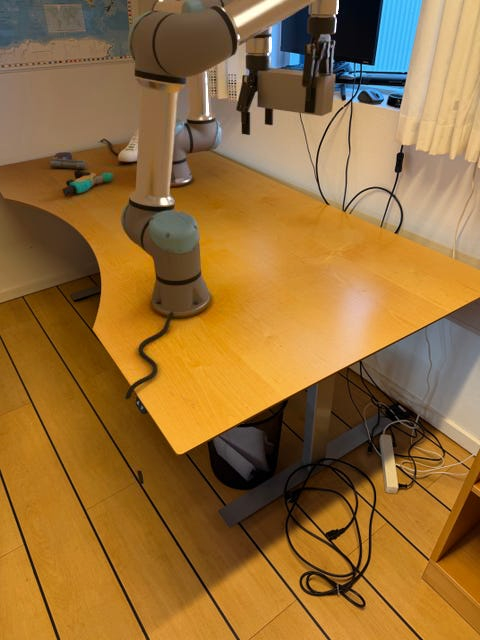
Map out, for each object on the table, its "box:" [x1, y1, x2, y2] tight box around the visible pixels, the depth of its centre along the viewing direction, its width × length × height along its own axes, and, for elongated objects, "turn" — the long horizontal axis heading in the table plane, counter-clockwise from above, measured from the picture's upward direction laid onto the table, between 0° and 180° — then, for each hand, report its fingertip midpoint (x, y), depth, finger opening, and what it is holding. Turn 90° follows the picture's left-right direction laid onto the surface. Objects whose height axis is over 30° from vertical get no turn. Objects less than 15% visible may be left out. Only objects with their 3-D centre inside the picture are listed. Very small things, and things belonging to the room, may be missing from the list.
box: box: [256, 67, 337, 117], centre depth 139 cm, size 22×7×10 cm, turn 56°
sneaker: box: [117, 127, 139, 163], centre depth 223 cm, size 10×29×12 cm, turn 163°
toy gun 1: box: [48, 151, 87, 170], centre depth 217 cm, size 4×19×15 cm
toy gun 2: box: [62, 169, 114, 197], centre depth 193 cm, size 4×26×15 cm
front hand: (315, 109), depth 138 cm, fingers closed on box, 7 cm apart
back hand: (257, 129), depth 152 cm, fingers open, 13 cm apart
